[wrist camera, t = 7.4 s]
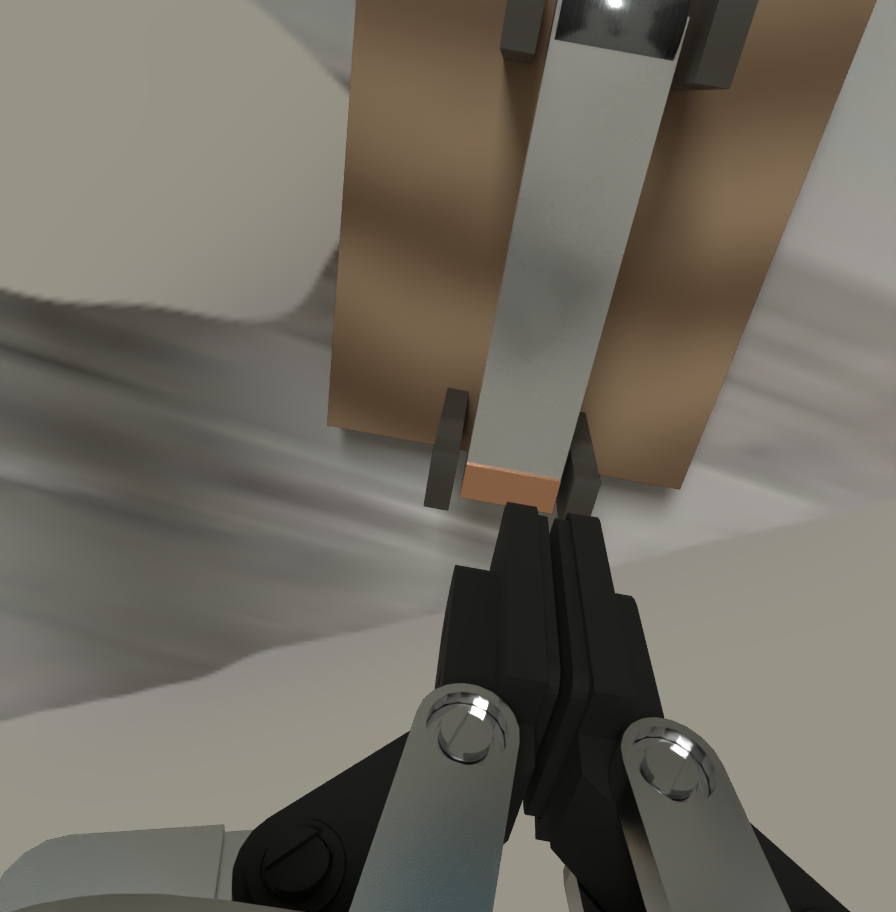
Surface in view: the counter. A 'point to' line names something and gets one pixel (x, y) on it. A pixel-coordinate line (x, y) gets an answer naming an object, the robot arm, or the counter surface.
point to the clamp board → (493, 207)
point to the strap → (569, 237)
